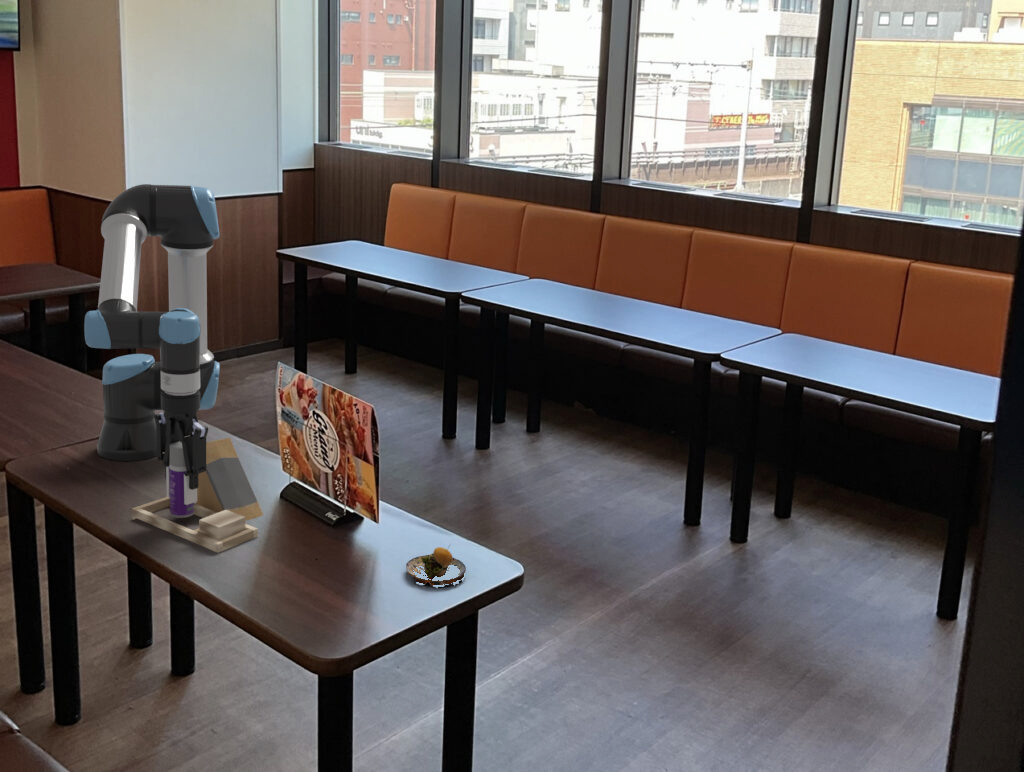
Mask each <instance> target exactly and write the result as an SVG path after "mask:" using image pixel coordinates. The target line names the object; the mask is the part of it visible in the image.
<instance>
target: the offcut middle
mask: <svg viewBox="0 0 1024 772" xmlns="http://www.w3.org/2000/svg"><path fill="white" fill-rule="evenodd" d="M245 530H246V526H244V527H242V528H239V529H237V530H235V531H232V532H230V533H227V534H225V535H222V536H220V537H218V536H215V535H213V534H210V533H208V532H205V531H203V530H200V529H199V533H201V534H203V535H206V536H208V537H210V538H213V539H215V540H218V541H220V540H222V539H225V538H227V537H230V536H232V535H235V534H237V533H240V532H242V531H245Z"/></svg>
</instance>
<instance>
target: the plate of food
mask: <svg viewBox="0 0 1024 772" xmlns="http://www.w3.org/2000/svg"><path fill="white" fill-rule="evenodd" d="M450 546H451V544H449V545H448V547H447V548H446V547H445V548H444V547H441V546H437V547H435V548H434V550H433V553H430V554H425V555H421V556H416V557H413V558H412V559H410V560H408V562H406V572H407V575H409V576H410V577H413V578H414V583H415V582H419V583H423V584H425V585H426V584H427V583H429V584H430V586H431V585H432V586H433V585H443V584H444V585H445V584H451V583H453V582H456V581H457V580H461V579H462V578H463V577H464V573H466V572H467V569H466V568H467V567H466V565H465V564H464V563H463V561H461V560H460V559H458V558H456V557H453V555H452V553H451V551H449V547H450ZM449 565H454V566H457V568H458V569H459V570H460V573H459V574H458V575H459V576H458V577H456V578H454V579H453V578H452V579H450V580H443V581H439V580H438V581H432V579H433V578H434V577H435V576H437V577H441V576H443V575H445V573H446V571H449V570H447V568H448V566H449ZM419 566H422V567H424V569H423V568H421V567H419ZM416 567H418V568H419V569H421V570H423V571H424V570H425V571H424V572H425V573H426V574H427V576H428V577H427V578H429V579H431V580H429V579H428V580H425V579H421V578H418V577H416V576H417V575H415V573H413V572H414V571H415V572H417V573H419V574H421V572H420V571H421V570H419V571H418V569H417V568H416ZM449 568H450V567H449ZM449 568H448V569H449ZM413 570H414V571H413ZM423 576H424V575H423ZM425 576H426V575H425ZM451 585H452V584H451ZM432 586H431V587H432Z"/></svg>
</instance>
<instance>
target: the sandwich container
mask: <svg viewBox="0 0 1024 772" xmlns="http://www.w3.org/2000/svg"><path fill="white" fill-rule="evenodd" d="M198 478H199V481H198V482H199V486H198V488H197V502H196V504H197V505H200V506H202V507H205V508H208V509H210V510H213V511H215V512H221V511H224V510H228V511H231V512H234V513H236V514H239V515H242V516H244V517H245V522H247V521H250V520H254V519H257V518H260V517H263V516H264V515H265V514H264V513H263V510H262V508H261V506H260V504H259V502H258V499H257V497H256V495H255V492H254V490H253V488H252V486H251V484H250V482H249V479H248V476H247V474H246V472H245V470H244V468H243V466H242V463H241V461H240V458H239V456H238V454H237V451H236V449H235V445H234V444H233V442H232V438H231V437H226V438H221V439H220V438H219V439H214V440H209V441H206V471H205V472H202V473H199V475H198Z"/></svg>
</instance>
